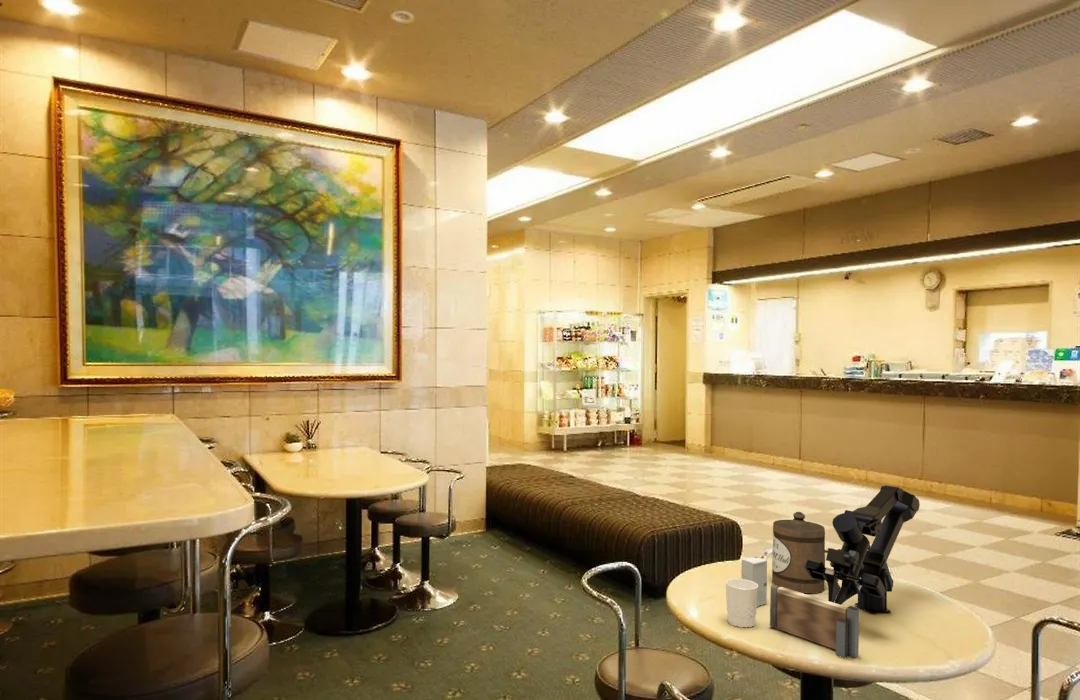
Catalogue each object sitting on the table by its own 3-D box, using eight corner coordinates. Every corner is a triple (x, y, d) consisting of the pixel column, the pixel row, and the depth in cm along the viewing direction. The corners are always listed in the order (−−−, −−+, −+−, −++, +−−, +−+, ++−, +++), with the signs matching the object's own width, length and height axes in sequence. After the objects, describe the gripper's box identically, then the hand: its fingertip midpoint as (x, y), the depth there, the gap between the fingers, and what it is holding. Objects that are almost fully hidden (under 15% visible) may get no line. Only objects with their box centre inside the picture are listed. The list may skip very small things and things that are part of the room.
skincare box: (753, 608, 179) (754, 563, 179) (739, 602, 183) (740, 559, 183) (767, 604, 182) (768, 560, 183) (754, 598, 186) (755, 555, 186)
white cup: (734, 614, 175) (735, 576, 175) (762, 623, 169) (763, 584, 169) (719, 622, 169) (720, 583, 169) (747, 631, 163) (748, 591, 164)
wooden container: (768, 575, 207) (770, 505, 207) (818, 579, 204) (820, 508, 204) (775, 591, 193) (777, 516, 193) (829, 596, 190) (831, 520, 190)
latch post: (835, 655, 151) (836, 607, 152) (843, 651, 154) (844, 603, 154) (851, 660, 149) (852, 612, 149) (858, 656, 151) (859, 608, 151)
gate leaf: (768, 625, 166) (769, 586, 166) (772, 623, 168) (773, 584, 168) (844, 653, 152) (845, 609, 152) (848, 650, 153) (849, 607, 153)
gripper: (807, 528, 176) (786, 578, 168) (880, 544, 161) (860, 600, 154) (821, 552, 181) (801, 602, 174) (893, 569, 167) (874, 625, 159)
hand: (832, 606), depth 165 cm, fingers closed
